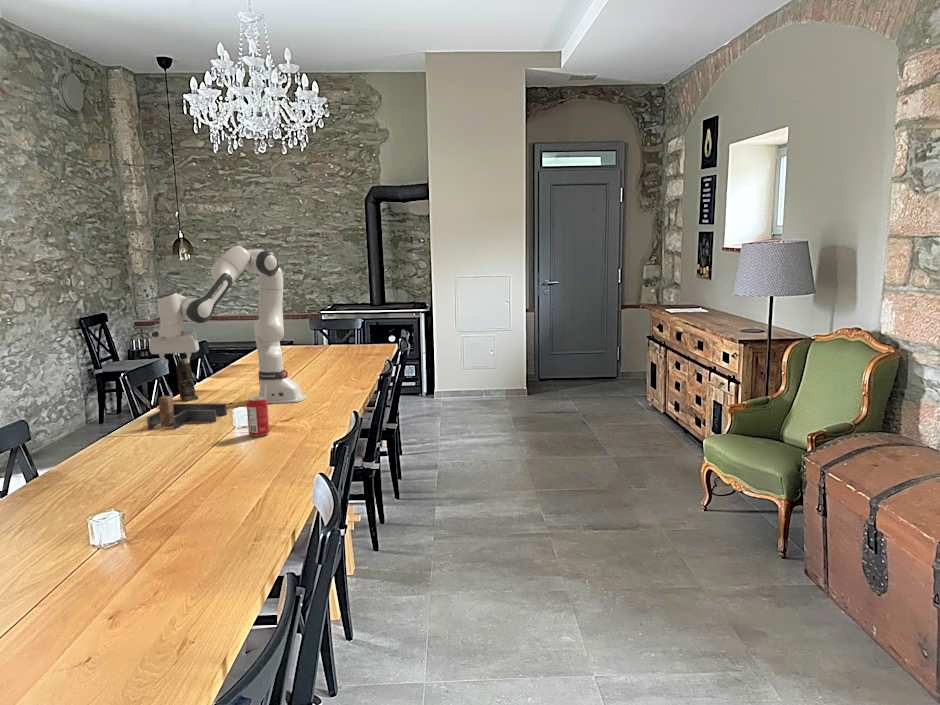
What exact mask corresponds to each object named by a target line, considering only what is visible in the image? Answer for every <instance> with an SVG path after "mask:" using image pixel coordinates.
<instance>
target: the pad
mask: <svg viewBox="0 0 940 705" xmlns="http://www.w3.org/2000/svg"><path fill="white" fill-rule="evenodd" d="M153 429H174V427H173V425H172V426H161V424H159V425H157V426H155V427H153Z"/></svg>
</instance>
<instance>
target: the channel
mask: <svg viewBox="0 0 940 705" xmlns="http://www.w3.org/2000/svg"><path fill="white" fill-rule="evenodd" d="M173 409H174V417H173V427H174V428H173V430H177V429H179V428H181V427H182V426H184V425H186V424H187V423H216V422H217V416H227V415H228V411H227V403H173ZM146 422H147V424H146V425H147V429H148V430H152V429H154V427H156V426H158V425H160V424H161V421H160V410H158V411H156V412H154V413H152V414H150V415H149V416H146Z"/></svg>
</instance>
